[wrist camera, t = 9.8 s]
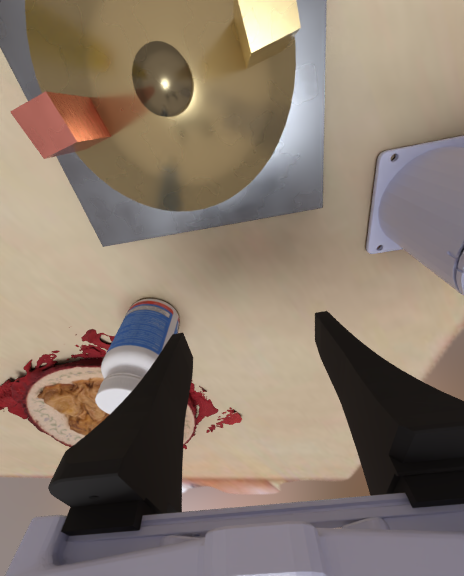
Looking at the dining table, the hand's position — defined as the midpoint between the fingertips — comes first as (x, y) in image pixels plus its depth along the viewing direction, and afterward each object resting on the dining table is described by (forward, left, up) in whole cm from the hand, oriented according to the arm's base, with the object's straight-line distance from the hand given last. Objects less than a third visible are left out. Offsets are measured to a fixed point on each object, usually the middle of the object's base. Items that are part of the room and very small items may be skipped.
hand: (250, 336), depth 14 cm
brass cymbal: (+2, -12, -9) cm, 15 cm away
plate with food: (+21, +21, -11) cm, 32 cm away
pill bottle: (+10, +6, -11) cm, 16 cm away
